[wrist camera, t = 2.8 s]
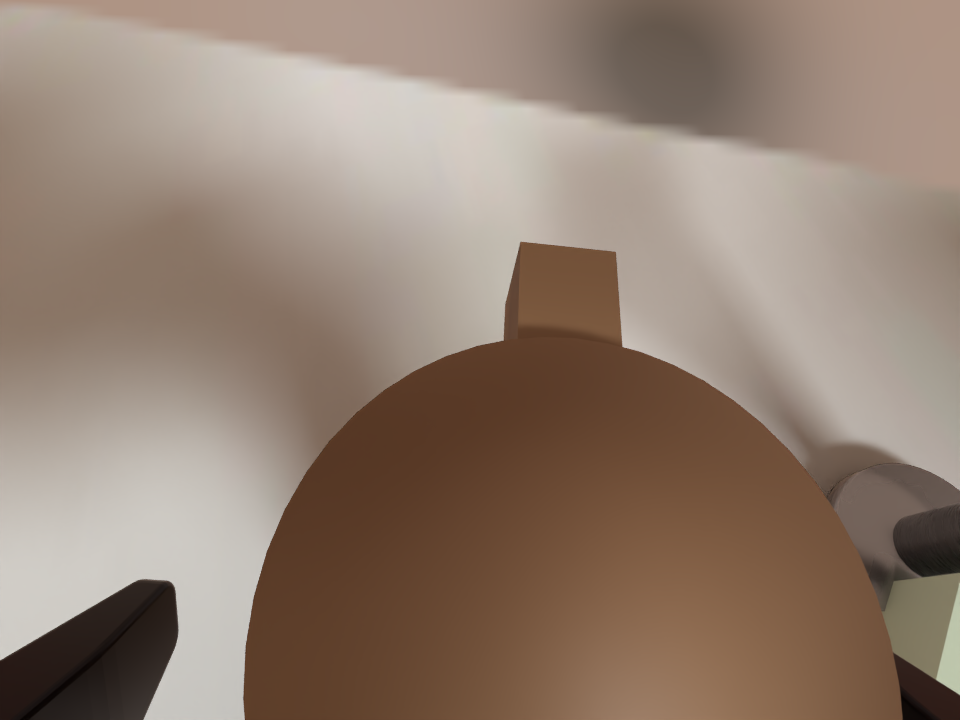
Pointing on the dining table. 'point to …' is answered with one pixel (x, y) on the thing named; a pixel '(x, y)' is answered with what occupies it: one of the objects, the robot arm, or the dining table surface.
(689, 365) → the dining table surface
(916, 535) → the t stake
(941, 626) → the tray
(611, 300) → the brown coffee tumbler
